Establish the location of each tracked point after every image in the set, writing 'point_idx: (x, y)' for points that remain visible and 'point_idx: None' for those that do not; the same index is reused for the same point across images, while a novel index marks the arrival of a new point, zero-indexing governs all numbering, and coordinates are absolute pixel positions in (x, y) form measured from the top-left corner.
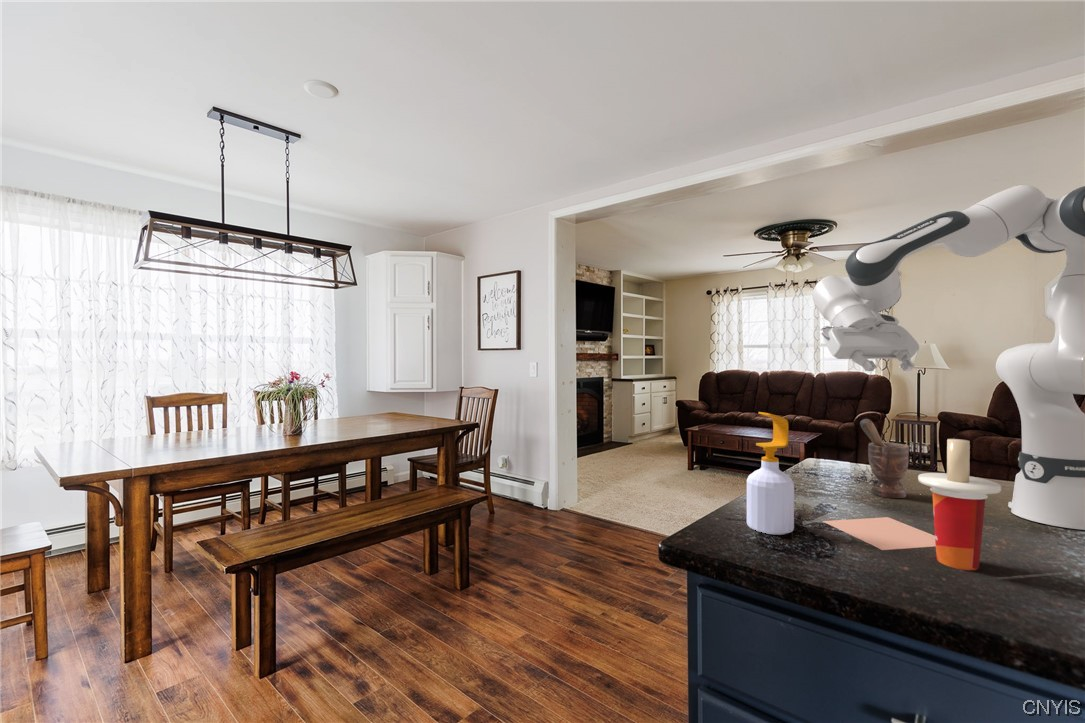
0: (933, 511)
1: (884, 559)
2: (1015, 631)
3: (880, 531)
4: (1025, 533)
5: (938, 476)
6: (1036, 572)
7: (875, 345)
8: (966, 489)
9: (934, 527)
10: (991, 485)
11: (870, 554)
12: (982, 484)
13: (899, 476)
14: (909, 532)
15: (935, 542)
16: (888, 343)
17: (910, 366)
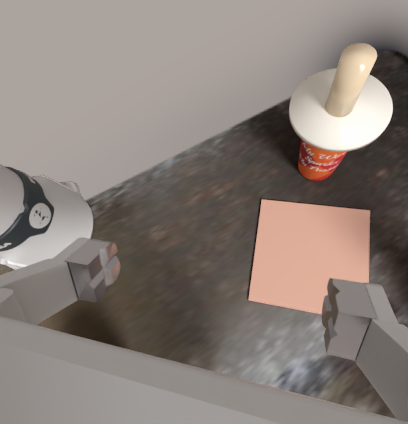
0: (346, 151)
1: (386, 195)
2: (397, 73)
3: (314, 259)
4: (143, 208)
5: (344, 128)
6: (255, 139)
7: (217, 413)
8: (370, 76)
9: (340, 160)
10: (319, 80)
11: (391, 210)
12: (326, 85)
13: None
14: (278, 244)
15: (335, 167)
16: (2, 393)
17: (104, 241)
